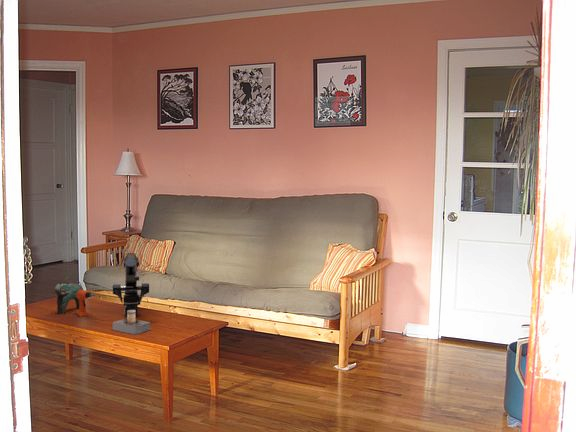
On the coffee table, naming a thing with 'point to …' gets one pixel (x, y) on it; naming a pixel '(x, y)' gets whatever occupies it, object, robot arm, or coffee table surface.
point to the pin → (131, 316)
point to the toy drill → (83, 302)
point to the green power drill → (66, 295)
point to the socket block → (131, 326)
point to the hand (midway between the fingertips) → (131, 302)
